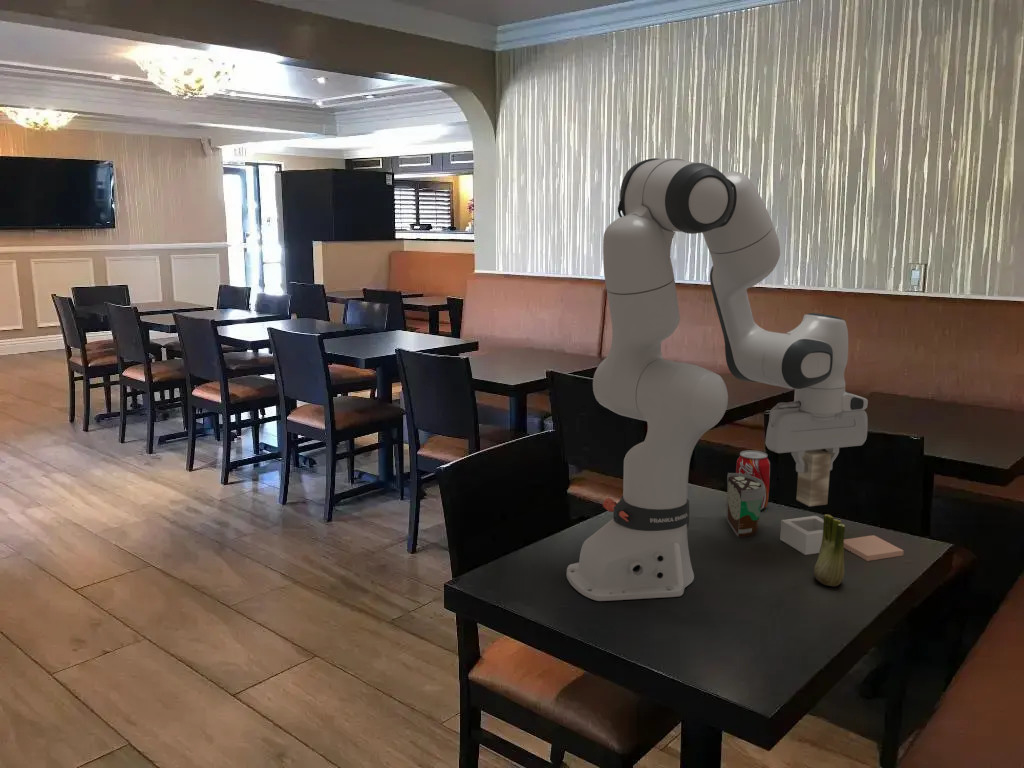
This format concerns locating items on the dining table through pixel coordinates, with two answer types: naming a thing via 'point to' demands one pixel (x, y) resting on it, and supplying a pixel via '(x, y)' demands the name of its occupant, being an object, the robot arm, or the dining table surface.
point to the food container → (744, 503)
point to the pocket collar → (803, 533)
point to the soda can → (755, 469)
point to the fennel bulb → (831, 553)
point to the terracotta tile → (872, 548)
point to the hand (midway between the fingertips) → (813, 471)
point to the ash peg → (814, 478)
